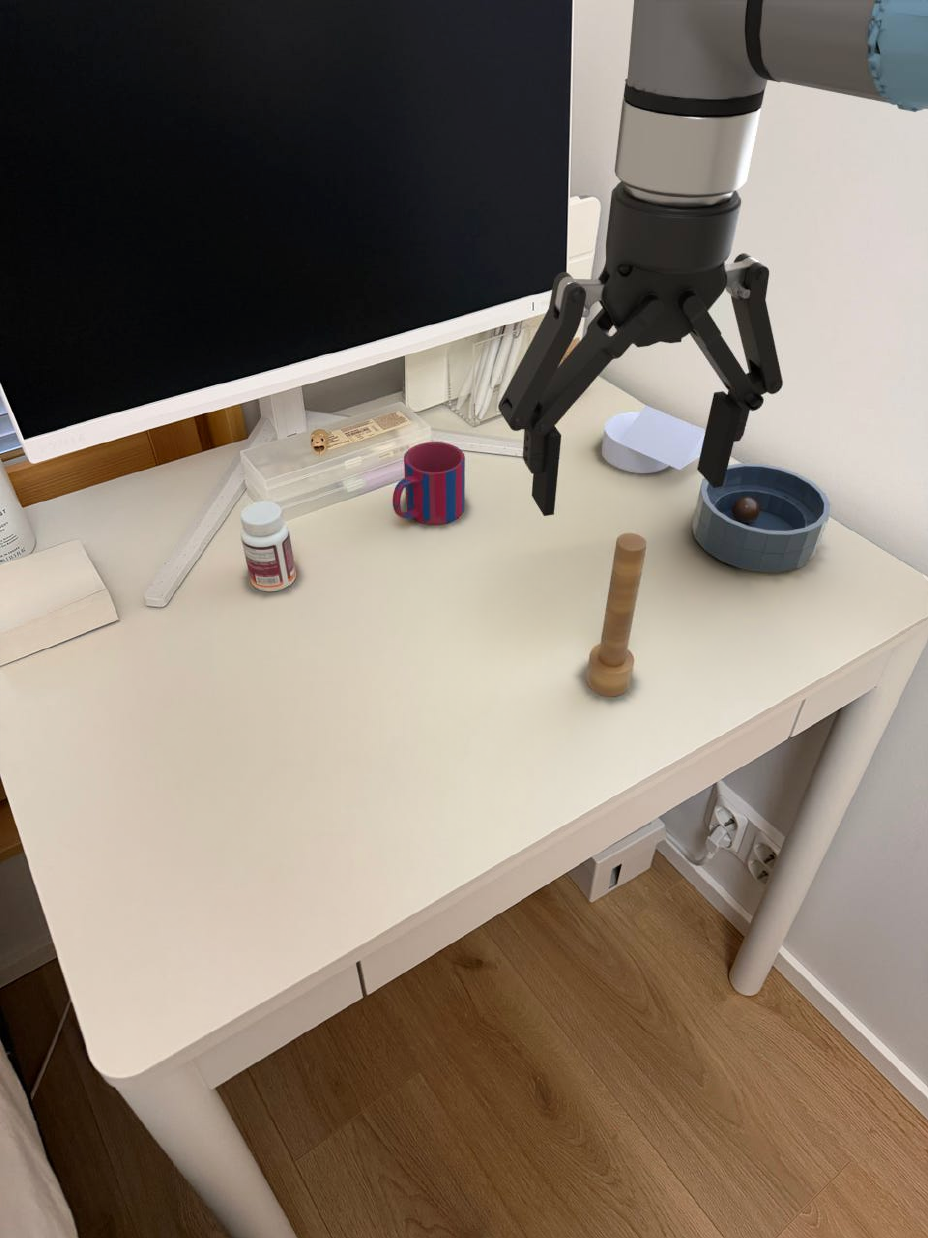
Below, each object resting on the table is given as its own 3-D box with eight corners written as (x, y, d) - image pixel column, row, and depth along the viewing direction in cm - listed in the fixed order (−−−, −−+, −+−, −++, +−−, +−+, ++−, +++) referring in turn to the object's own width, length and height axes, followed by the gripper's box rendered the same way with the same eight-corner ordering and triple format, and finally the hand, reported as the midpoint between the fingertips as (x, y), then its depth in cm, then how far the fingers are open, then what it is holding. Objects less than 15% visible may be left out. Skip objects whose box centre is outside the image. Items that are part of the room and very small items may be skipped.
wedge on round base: (715, 465, 106) (629, 427, 113) (726, 416, 102) (636, 380, 108) (674, 494, 101) (587, 453, 108) (685, 444, 97) (593, 405, 103)
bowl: (840, 564, 92) (856, 522, 88) (727, 586, 89) (739, 543, 85) (774, 496, 101) (786, 455, 97) (670, 513, 98) (679, 472, 95)
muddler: (637, 692, 78) (665, 552, 67) (595, 700, 77) (618, 560, 66) (619, 661, 81) (644, 523, 70) (579, 670, 80) (598, 531, 69)
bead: (761, 526, 96) (768, 504, 94) (737, 530, 95) (743, 508, 93) (747, 511, 98) (754, 489, 96) (724, 515, 97) (729, 493, 95)
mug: (476, 508, 99) (477, 457, 94) (412, 545, 94) (410, 493, 89) (436, 485, 102) (435, 434, 98) (372, 519, 97) (368, 468, 93)
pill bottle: (277, 558, 92) (265, 492, 86) (305, 577, 90) (295, 511, 84) (240, 578, 89) (226, 512, 84) (269, 599, 87) (256, 532, 81)
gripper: (827, 153, 55) (750, 442, 70) (454, 182, 50) (454, 488, 64) (901, 187, 50) (801, 493, 64) (492, 224, 45) (483, 548, 59)
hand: (627, 491), depth 64 cm, fingers open, 13 cm apart
